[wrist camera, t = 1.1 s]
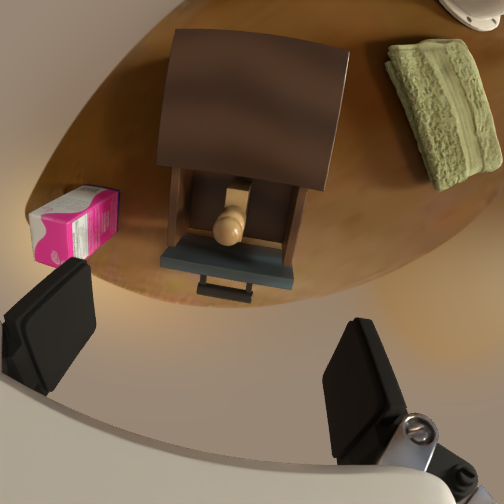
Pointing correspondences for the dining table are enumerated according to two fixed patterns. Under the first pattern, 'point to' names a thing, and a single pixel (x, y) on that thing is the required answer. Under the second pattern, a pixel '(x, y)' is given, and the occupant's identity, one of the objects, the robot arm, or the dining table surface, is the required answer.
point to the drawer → (240, 254)
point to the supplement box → (74, 224)
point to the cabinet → (251, 106)
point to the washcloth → (445, 109)
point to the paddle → (233, 214)
